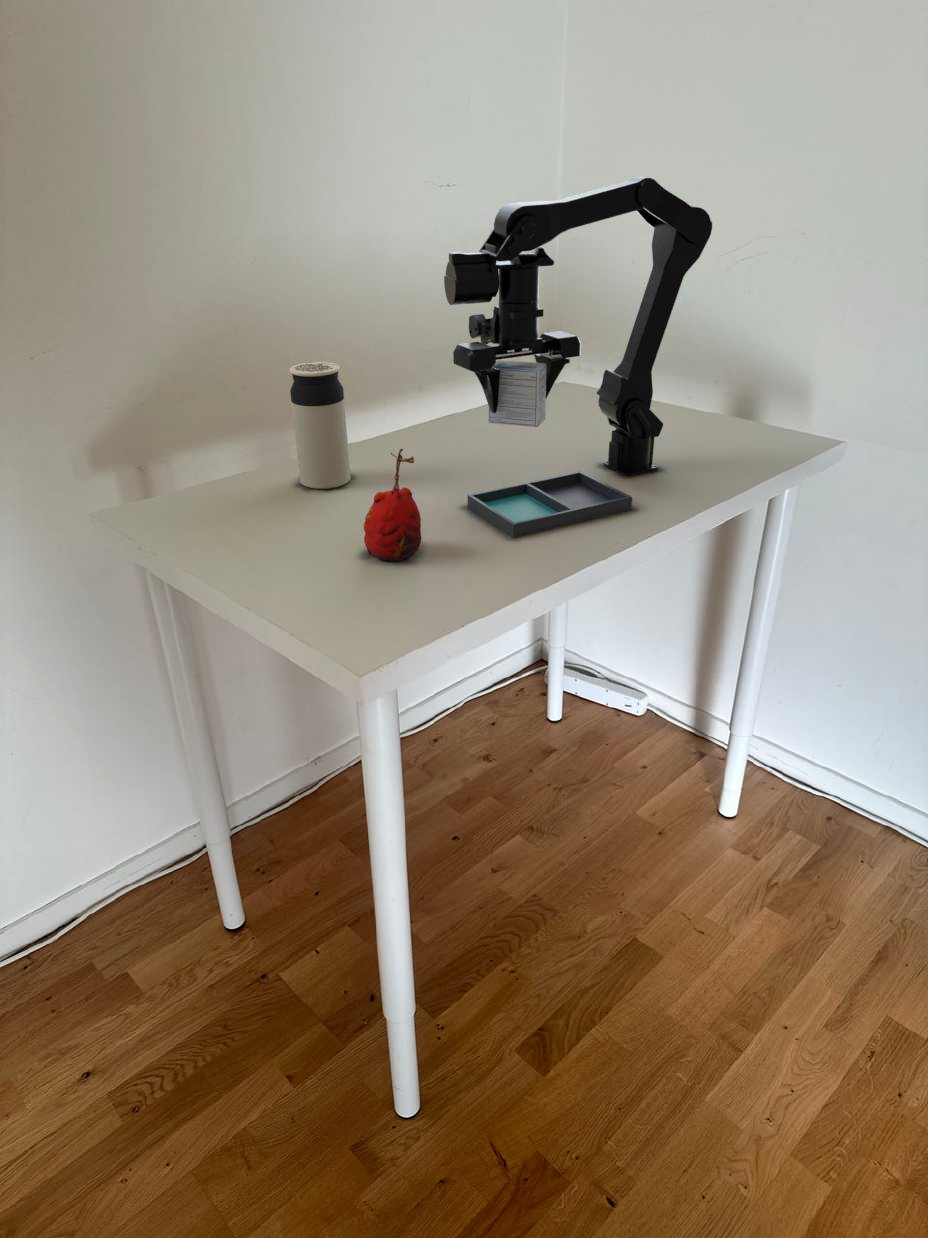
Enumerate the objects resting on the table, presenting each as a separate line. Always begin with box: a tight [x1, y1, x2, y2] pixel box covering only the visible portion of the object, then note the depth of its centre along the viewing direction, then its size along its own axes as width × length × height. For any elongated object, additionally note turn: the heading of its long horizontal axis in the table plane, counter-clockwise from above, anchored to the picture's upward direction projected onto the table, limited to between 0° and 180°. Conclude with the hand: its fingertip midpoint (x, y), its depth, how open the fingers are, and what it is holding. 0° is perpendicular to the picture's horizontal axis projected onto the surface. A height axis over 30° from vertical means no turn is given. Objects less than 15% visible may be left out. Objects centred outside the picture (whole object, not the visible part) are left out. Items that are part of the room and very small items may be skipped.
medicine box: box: [487, 359, 547, 428], centre depth 136 cm, size 8×4×9 cm, turn 70°
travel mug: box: [289, 361, 352, 490], centre depth 140 cm, size 8×8×18 cm
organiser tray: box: [467, 470, 633, 539], centre depth 132 cm, size 20×13×2 cm, turn 118°
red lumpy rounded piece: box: [363, 448, 422, 562], centre depth 116 cm, size 8×7×15 cm
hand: (517, 408), depth 137 cm, fingers closed on medicine box, 8 cm apart
